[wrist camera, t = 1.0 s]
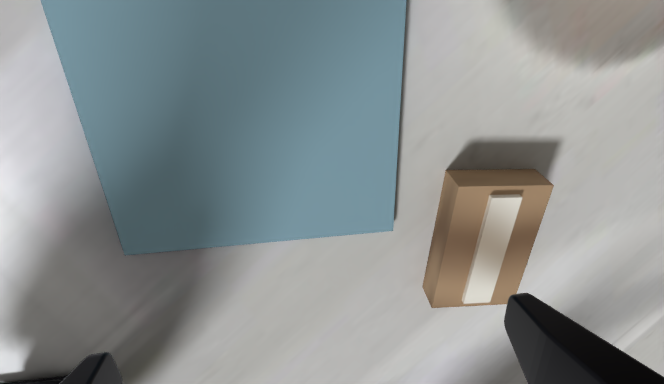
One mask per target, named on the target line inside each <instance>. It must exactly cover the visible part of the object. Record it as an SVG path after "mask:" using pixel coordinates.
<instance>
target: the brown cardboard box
mask: <svg viewBox="0 0 664 384" xmlns="http://www.w3.org/2000/svg"><path fill="white" fill-rule="evenodd" d="M553 186H554V185H553V184H552V183H551V182H549V181H548V180H547V179H546V178H545V177H544V176H542V175H541V174H540V173H539V172H538V171H536V170H535V169H493V170H446V172H445V177H444V182H443V187H442V192H441V197H440V202H439V207H438V212H437V217H436V222H435V227H434V232H433V237H432V242H431V247H430V252H429V257H428V262H427V267H426V272H425V277H424V282H423V289H424V291H425V294H426V296H427V298H428V300H429V303H430V305H431V307H432V308H441V307H460V306H479V305H498V304H507V303H508V299H509V297H510V296H511V295H513V294H516V293H517V291H518V288H519V285H520V282H521V279H522V276H523V273H524V270H525V267H526V264H527V262H528V259H529V256H530V253H531V250H532V247H533V244H534V241H535V238H536V235H537V233H538V230H539V227H540V224H541V221H542V218H543V215H544V212H545V209H546V206H547V204H548V201H549V198H550V195H551V192H552V189H553Z"/></svg>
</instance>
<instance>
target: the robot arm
mask: <svg viewBox="0 0 664 384" xmlns="http://www.w3.org/2000/svg"><path fill="white" fill-rule="evenodd" d="M504 324H505V329H506V332H507V334H508V336H509V339H510V341H511V344H512V346H513V349H514V351H515V353H516V356H517V358H518V361H519V363H520V366H521V368H522V370H523V373H524V375H525V378H526V380H527V382H528V384H664V377H663V376H661V375H660V374H658V373H657V372H655V371H653V370H652V369H650V368H648V367H647V366H645V365H644V364H642V363H640V362H639V361H637V360H636V359H634V358H632V357H631V356H629V355H628V354H626V353H624V352H623V351H621V350H619V349H618V348H616V347H615V346H613V345H611V344H610V343H608V342H607V341H605V340H603V339H602V338H600V337H599V336H597V335H595V334H594V333H592V332H590V331H589V330H587V329H586V328H584V327H582V326H581V325H579V324H578V323H576V322H574V321H573V320H571V319H570V318H568V317H566V316H565V315H563V314H562V313H560V312H558V311H557V310H555V309H553V308H552V307H550V306H549V305H547V304H545V303H544V302H542V301H541V300H539V299H537V298H536V297H534V296H533V295H531V294H528V293H520V294H513V295H511V296H510V297H509V299H508V303H507V308H506V313H505V319H504ZM4 384H122V376H121V374H120V372H119V370H118V368H117V366H116V363H115V361H114V359H113V357H112V355H111V354H110V353H108V352H104V353H97V354H91V355H89V356H87V357H86V358H85V359H84V360H83V361H82V362H81V363H80V364H79V365H78V366H77V367H76V368H75V369H74V370H73V371H72V372H71V373H70V374H69V375H68V376H64V377H55V378H47V379H38V380H29V381H21V382H12V383H4Z"/></svg>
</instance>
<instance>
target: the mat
mask: <svg viewBox="0 0 664 384" xmlns="http://www.w3.org/2000/svg"><path fill="white" fill-rule="evenodd" d="M41 3H42V6H43V9H44V12H45V15H46V18H47V21H48V24H49V27H50V30H51V33H52V36H53V39H54V42H55V45H56V48H57V51H58V54H59V57H60V60H61V63H62V66H63V70H64V73H65V76H66V79H67V82H68V85H69V88H70V91H71V94H72V97H73V100H74V103H75V106H76V109H77V112H78V115H79V118H80V121H81V124H82V127H83V130H84V133H85V136H86V139H87V142H88V145H89V148H90V151H91V154H92V157H93V160H94V163H95V166H96V169H97V173H98V176H99V179H100V182H101V185H102V188H103V191H104V194H105V197H106V200H107V203H108V206H109V209H110V212H111V215H112V218H113V221H114V224H115V227H116V230H117V233H118V236H119V239H120V242H121V245H122V248H123V251H124V254H125V255H135V254H146V253H157V252H168V251H179V250H190V249H200V248H211V247H222V246H233V245H244V244H255V243H266V242H277V241H287V240H298V239H309V238H320V237H331V236H342V235H353V234H363V233H374V232H385V231H393V223H394V206H395V189H396V171H397V154H398V137H399V119H400V102H401V85H402V67H403V50H404V33H405V15H406V0H41Z"/></svg>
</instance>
